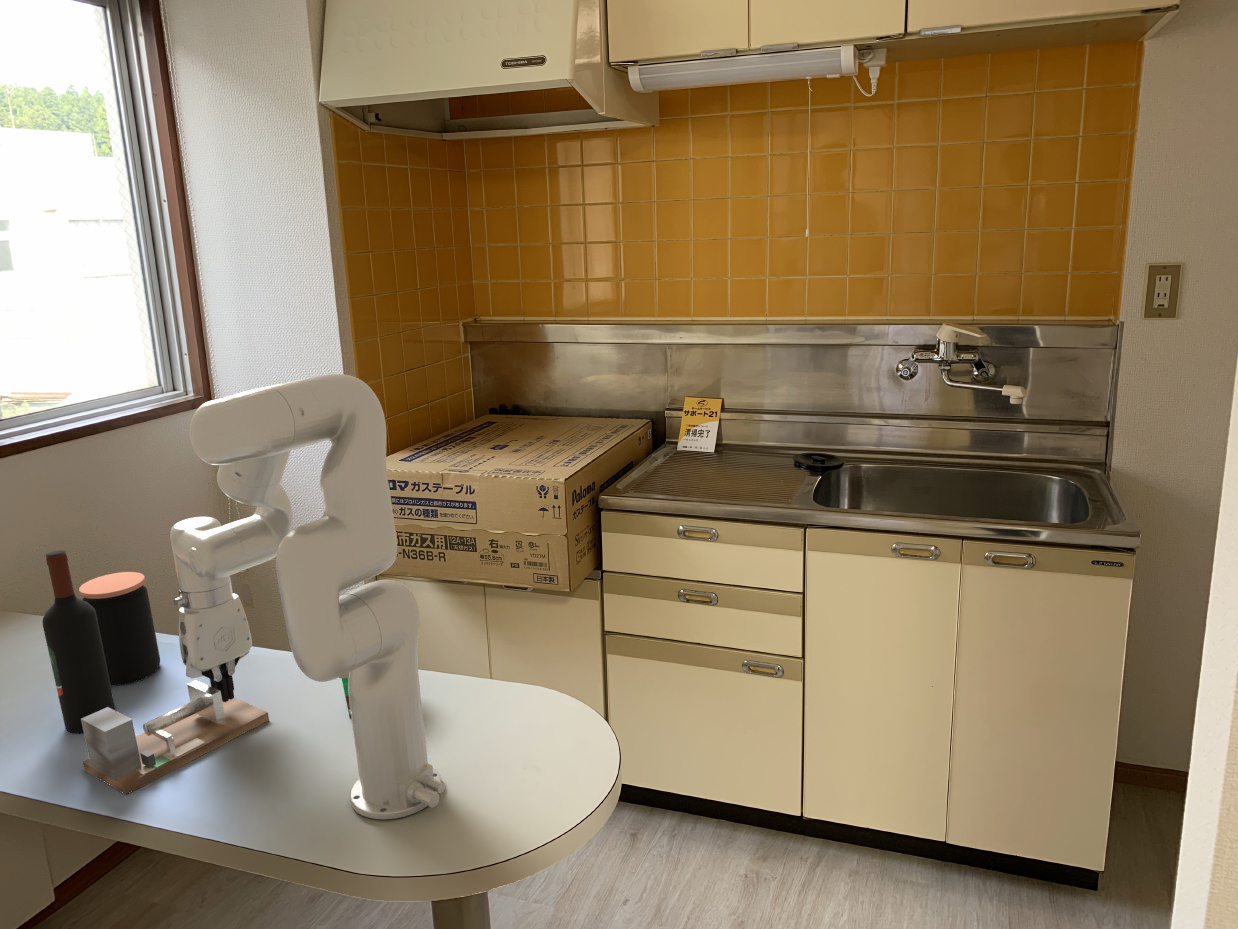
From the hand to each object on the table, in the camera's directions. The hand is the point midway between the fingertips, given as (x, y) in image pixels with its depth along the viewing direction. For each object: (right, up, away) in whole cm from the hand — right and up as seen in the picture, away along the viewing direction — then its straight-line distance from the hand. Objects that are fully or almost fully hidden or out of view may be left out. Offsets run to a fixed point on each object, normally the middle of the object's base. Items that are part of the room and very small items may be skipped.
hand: (224, 698), depth 155 cm
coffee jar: (-26, 0, +20) cm, 32 cm away
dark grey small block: (-5, -6, -14) cm, 17 cm away
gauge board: (-5, -6, -6) cm, 9 cm away
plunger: (-4, -4, -6) cm, 8 cm away
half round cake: (+24, -2, +4) cm, 25 cm away
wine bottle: (-23, -5, +3) cm, 24 cm away
